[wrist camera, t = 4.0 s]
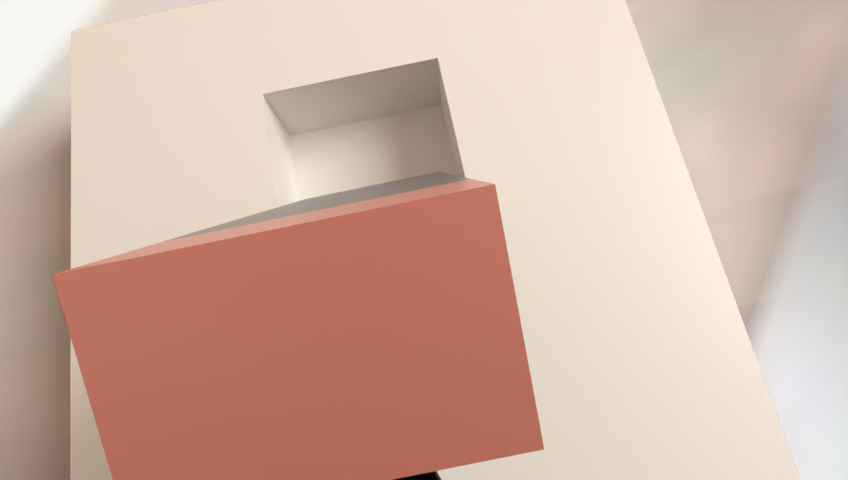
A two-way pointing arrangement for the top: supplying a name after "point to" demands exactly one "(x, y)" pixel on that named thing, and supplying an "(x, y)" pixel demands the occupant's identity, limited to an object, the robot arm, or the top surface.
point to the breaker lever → (311, 341)
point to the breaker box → (458, 155)
